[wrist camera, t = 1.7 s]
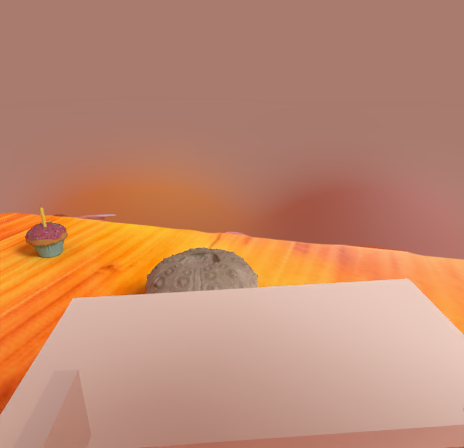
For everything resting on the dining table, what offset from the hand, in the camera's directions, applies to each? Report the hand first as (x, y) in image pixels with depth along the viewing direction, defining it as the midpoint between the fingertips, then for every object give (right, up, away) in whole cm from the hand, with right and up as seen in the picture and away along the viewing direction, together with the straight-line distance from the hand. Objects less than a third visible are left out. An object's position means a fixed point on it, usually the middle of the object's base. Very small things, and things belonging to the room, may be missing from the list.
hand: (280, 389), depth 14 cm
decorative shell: (-6, -9, +52) cm, 54 cm away
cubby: (0, -20, +20) cm, 28 cm away
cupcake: (-42, -1, +78) cm, 89 cm away
